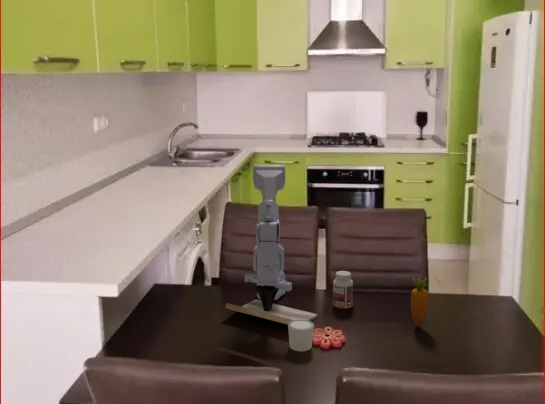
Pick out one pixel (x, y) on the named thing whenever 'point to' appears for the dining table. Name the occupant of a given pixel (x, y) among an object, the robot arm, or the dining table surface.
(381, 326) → the dining table surface
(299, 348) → the white cup
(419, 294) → the carrot
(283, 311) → the laid plank
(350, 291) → the pill bottle
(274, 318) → the oak plank
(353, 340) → the dining table surface
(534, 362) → the dining table surface
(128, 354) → the dining table surface
